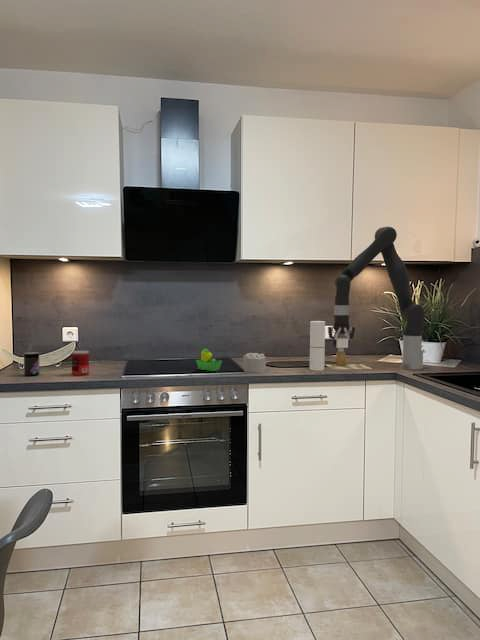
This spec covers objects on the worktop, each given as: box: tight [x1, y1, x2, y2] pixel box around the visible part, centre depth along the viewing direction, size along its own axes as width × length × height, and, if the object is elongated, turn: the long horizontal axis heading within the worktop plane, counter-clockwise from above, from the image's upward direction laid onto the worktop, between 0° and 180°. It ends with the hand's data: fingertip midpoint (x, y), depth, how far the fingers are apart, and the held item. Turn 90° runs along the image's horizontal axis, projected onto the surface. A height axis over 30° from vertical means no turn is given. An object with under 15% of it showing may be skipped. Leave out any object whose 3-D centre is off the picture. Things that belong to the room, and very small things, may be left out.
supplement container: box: [23, 351, 41, 377], centre depth 225 cm, size 7×7×10 cm
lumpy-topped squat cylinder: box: [242, 352, 266, 374], centre depth 241 cm, size 10×13×9 cm
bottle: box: [335, 348, 347, 367], centre depth 249 cm, size 5×5×10 cm
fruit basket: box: [195, 348, 223, 372], centre depth 241 cm, size 11×9×11 cm
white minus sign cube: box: [335, 337, 349, 349], centre depth 249 cm, size 6×6×5 cm
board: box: [324, 363, 373, 370], centre depth 247 cm, size 20×16×2 cm
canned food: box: [71, 350, 90, 377], centre depth 227 cm, size 8×8×11 cm
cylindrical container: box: [309, 320, 326, 374], centre depth 237 cm, size 7×7×25 cm
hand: (340, 346), depth 249 cm, fingers closed on white minus sign cube, 5 cm apart
